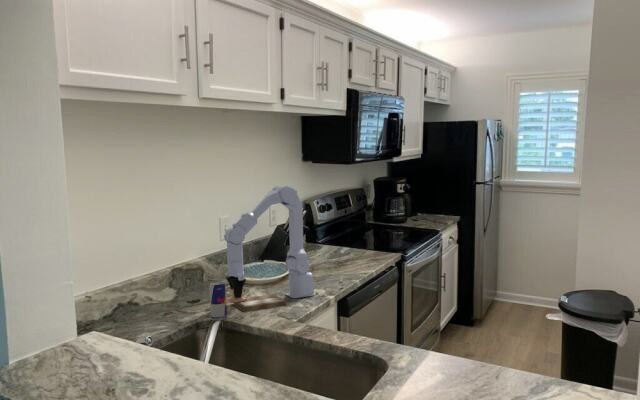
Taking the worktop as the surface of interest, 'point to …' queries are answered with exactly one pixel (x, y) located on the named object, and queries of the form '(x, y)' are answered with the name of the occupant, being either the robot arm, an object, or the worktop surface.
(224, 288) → the energy drink
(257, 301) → the board
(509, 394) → the worktop surface
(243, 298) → the peach plate with block
